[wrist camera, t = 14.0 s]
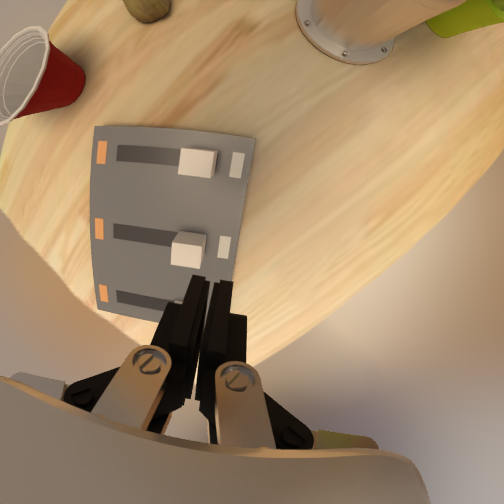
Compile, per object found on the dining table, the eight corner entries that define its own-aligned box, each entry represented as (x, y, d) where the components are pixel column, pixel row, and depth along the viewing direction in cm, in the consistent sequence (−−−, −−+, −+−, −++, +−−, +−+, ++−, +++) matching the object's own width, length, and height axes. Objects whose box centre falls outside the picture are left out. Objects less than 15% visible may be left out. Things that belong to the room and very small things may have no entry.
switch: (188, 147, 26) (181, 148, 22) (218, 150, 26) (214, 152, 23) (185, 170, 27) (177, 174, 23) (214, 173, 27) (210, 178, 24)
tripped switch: (179, 230, 29) (171, 242, 26) (206, 234, 29) (202, 246, 26) (178, 251, 30) (170, 264, 27) (204, 254, 30) (199, 268, 27)
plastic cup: (113, 43, 22) (60, 13, 11) (92, 124, 26) (28, 125, 15) (51, 51, 21) (-5, 36, 10) (34, 123, 25) (-27, 129, 14)
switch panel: (104, 126, 26) (94, 126, 24) (254, 139, 28) (255, 138, 26) (104, 299, 35) (97, 309, 33) (224, 321, 37) (223, 333, 35)
